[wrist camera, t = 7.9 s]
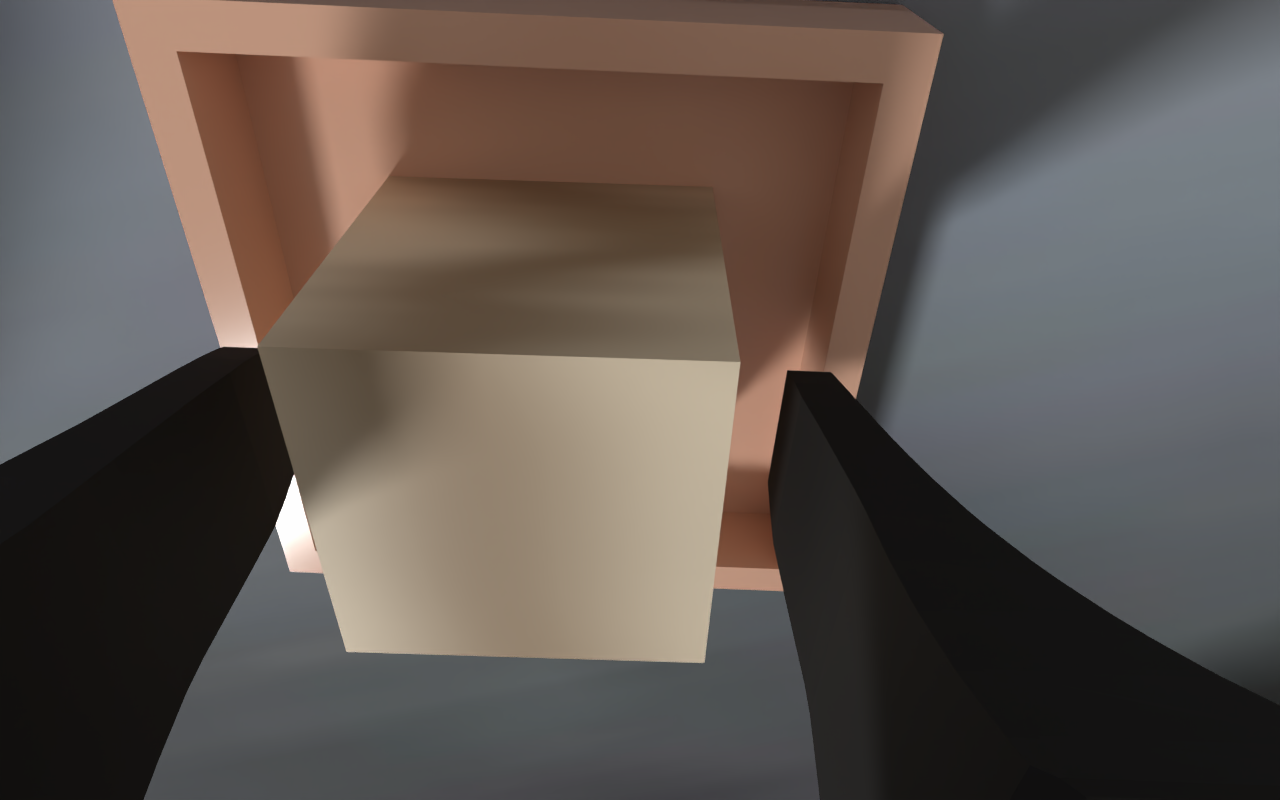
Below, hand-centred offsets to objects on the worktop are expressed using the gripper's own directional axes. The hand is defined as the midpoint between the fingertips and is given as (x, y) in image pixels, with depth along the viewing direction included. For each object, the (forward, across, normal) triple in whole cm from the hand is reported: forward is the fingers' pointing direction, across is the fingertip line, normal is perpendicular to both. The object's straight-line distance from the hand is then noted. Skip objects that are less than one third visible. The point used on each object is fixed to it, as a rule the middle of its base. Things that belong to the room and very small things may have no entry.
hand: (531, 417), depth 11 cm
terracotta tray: (+3, 0, 0) cm, 3 cm away
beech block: (+3, 0, 0) cm, 3 cm away
